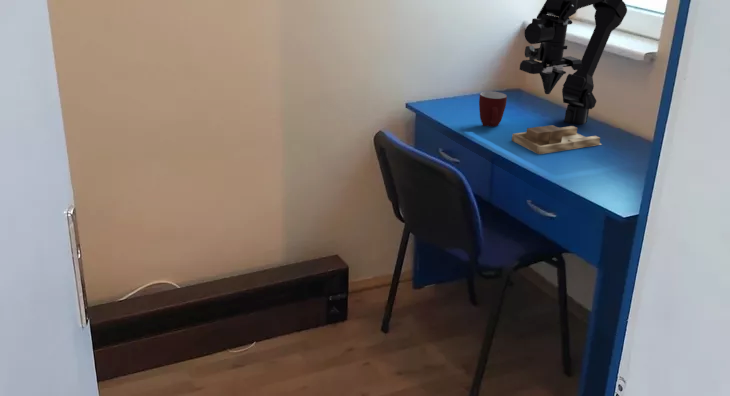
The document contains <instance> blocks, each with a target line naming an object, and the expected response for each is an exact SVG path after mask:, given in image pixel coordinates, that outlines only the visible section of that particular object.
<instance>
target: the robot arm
mask: <svg viewBox="0 0 730 396" xmlns="http://www.w3.org/2000/svg"><path fill="white" fill-rule="evenodd" d="M588 6H592V7H593V8H594V10H595V12H594V23H595V27H594V29H593V31H592V34H591V36H590V39H589V41H588V44H587V45H586V49H585V51H584V53H583V55H582V57H581V59H579V58H577V57H573V56H571V55H570V56H564V51H565V50H568V45H566V37H567V30H568V25H572V24H573V21H572V19H570V17H572V16H574V15H575V14H576V13H577V11H578V10H579V9H583V8H585V7H588ZM627 7H628V6H627V4H626V2H624V1H623V0H545V2H544V4H543V6H542V8H541V9H540V10H539V12H538V14H537V15H536V18H532V20H531V22H530V23H529V24H528V25H527V26H526V28H525V29H524V38H525V40H526V42H527V43H528V44H531V45H528V46H527V45H526V46H525V48H524V57H525V58H528V59H523V60H522V61H521V62H519V63H520V64H519V69H518V70H519V71H522V72H525V73H527V74H529V75H530V74H531V75H538V74H539V76H540V78H541V81H542V85H543V92H544V94H546V95H550V94H551V92H552V91H553V89H554V88H555V87H556V85H557V84H558V82H559V81H560V80H561V78H562V77H563V76H564V75H566V74H567V71H564V68H566V67H571V69H572V70H573V71H575V72H574V73H568V75H567V76H566V78H565V81H564V83H563V84H562V89H561V92H562V93H561V94H562V95H561V96H562V102H563V103H564V104H567V108H566V109H565V114H564V121H563V122H564V123H566V124H569V125H585V124H586V123H587V122H588V117H589V111H590V110H592V109H593V108H595V106H596V104H597V99H596V97H595V95H594V94H593V91H594V87H595V84H594V77H593V76H594V74H595V71H596V68H597V67H598V64H599V62H600V59H601V58H602V55H603V53H604V50H605V49H606V45H607V43H608V41H609V38H610V36H611V33H612V32H613V31H614V30H615V29H617V28H618V27H619V26H621V24H622V22H623V20H624V18H625V17H626V15H627V13H628V8H627ZM536 44H539V47H535V45H536Z"/></svg>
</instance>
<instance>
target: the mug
mask: <svg viewBox="0 0 730 396" xmlns="http://www.w3.org/2000/svg"><path fill="white" fill-rule="evenodd" d="M507 101H508V96H507V94H506V93H503V92H497V91H489V90H488V91H482V92H480V94H479V99H478V108H479V119H480V122H481V124H482V127H498V126H499V125H500V123H501V121H502V119H503V116H504V113H505V109H506V106H507Z"/></svg>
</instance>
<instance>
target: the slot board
mask: <svg viewBox="0 0 730 396" xmlns="http://www.w3.org/2000/svg"><path fill="white" fill-rule="evenodd" d="M559 128H560V129H562V130H563V135H562V141H561V143H555V144H548V145H541V146H540V145H538V144H536V143H534V142H532V141H530V140H528V139H526V133H527V131H524V132H516V133H512V136H511V137H512V138H511V141H512V142H513V143H516V144H518V145H519V146H522V147H523V148H525V149H528V150H529V151H532V152H533V153H535V154H537V155H545V154H550V153H556V152H561V151H563V152H564V151H569V150H575V149H580V148H581V149H582V148H588V147H595V146H601V145H603V144H602V143H601V137H599V136H597V135H591V136H585V135H582V134H580V133H578V127H576V126H574V125H569V126H563V127H559Z"/></svg>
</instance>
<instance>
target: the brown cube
mask: <svg viewBox="0 0 730 396" xmlns="http://www.w3.org/2000/svg"><path fill="white" fill-rule="evenodd" d="M541 127H542V128H544V129H546V130H548V131H550V136H549V143H548V144H555V143H561V141H562V135H563V130H562V129H560V128H561V127H558V126H555V125H552V124H551V125H550V124H549V125H545V126H541Z"/></svg>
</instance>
